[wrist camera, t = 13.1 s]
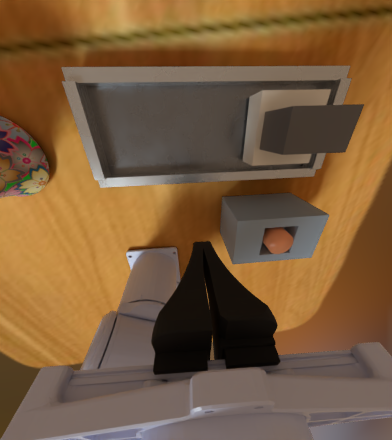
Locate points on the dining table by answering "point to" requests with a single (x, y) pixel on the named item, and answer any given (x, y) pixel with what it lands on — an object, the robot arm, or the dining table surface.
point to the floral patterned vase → (20, 162)
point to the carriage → (296, 126)
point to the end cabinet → (269, 226)
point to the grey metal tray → (183, 120)
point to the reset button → (277, 240)
